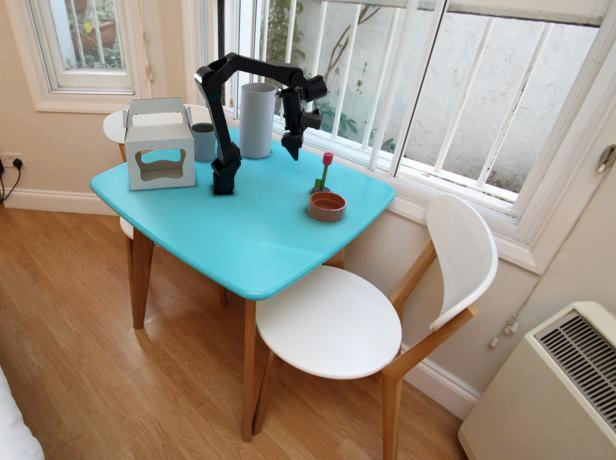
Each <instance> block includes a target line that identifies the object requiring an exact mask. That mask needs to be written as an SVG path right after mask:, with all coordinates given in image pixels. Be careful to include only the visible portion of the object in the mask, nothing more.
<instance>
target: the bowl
mask: <svg viewBox="0 0 616 460" xmlns="http://www.w3.org/2000/svg"><path fill="white" fill-rule="evenodd" d="M347 207H348V200H346V198H345V197H344V196H342V195H341V194H338V193H335V192H332V191H330V192H326V191H324V192H316V193H312V194H310V196H309V198H308V203H307V209H306V211H307V214H308V215H309V216H310V217H311V218H313V219H315V220H316V221H320V222H324V223H336V222H339V221H341V220H342V219H343V218H344V217H345V214H346V210H347Z"/></svg>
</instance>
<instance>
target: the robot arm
mask: <svg viewBox="0 0 616 460" xmlns="http://www.w3.org/2000/svg"><path fill="white" fill-rule="evenodd" d="M236 72H243V73H247V74H252V75H256V76H259V77H262V78H263V77H264V78H267V79H270V80H274V81H275V82H278V83H279V84H280V85H283V86H285V88H283V87H280V86H279V87H278V89H277V90H276V93H275V96H276V98H278V99H281V102H282V110H283V113H282V119H284V124H285V125H284V132H285V131H286V132H285V133H283V134H282V136H281V139H280V144H281V147H283V148H284V149H285V150H286V151H287V153H288V154H289V155H290V156H291V158H292V159H293V161H295V162H297V161H299V158H300V150H301V149H302V148H303V144H304V139H305V138H304V135H305V134H304V133H305V131H306V130H307V129H308V128H310V129H314V130H316V131H319V130H321V127H322V124H323V120H324V115H323V113H322V112H321V109H320V108H318V107H314V108H313V110H312V111H306V107H305V106H303V101H304V102H305V103H307V104H308V103H311V102H314V101H317V100H320V99H323V98H325V97H327V95H328V87H327V83H326V81H325V79H324V76H323V75H321V74H317V75H314V76H312V77H309V78H306V77H305V75H304V74H305V73H304V70H303V69H302V68H301V67H299V66H296V65H294V64H293V63H290V62H269V61H264V60H261V59H257V58H253V57H250V56H245V55H242V54H238V53H237V52H234V51H231V52H228V53H227V54H225V55H224V56H222V57H220V58H218V59H216V60H213V61H212V62H210V63H208V64H207V65H203V66H201V67H199V68H198V69H197V70H196V72H195V74H194V81H195V84H196V86H197V88H198V90H199V92H200V94H201V95H202V97H203V99H204V101H205V103H206V107H207V110H208V114H209V118H210V121H211V124H212V125H213V129H214V132H215V136H216V143H217V145H216V157H214V159H213V160H212V161H211V163H210V168H211V169H212V184H211V188H212V193H213V196H229V195H234V190H235V177H236V175H237V172H238V170H239V169H240V167H241V166H242V161H243V160H244V159H243V158H242V155H240V148H239V147H238V145H237V143H235V142H234V141H232V139H231V138H232V137H231V135H230V131H229V127H228V121H227V119H226V118H227V117H226V115H225V110H224V107H223V103H222V97H223V96H222V95H223V84H225V83H227V82H228V81H229V80H230V79H231V78H232V76H233V75H234V74H235V73H236Z"/></svg>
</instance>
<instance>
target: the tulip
mask: <svg viewBox="0 0 616 460" xmlns="http://www.w3.org/2000/svg"><path fill="white" fill-rule="evenodd" d="M333 160H334V153H333V152H329V151H327V152H323V157H322V161H321V162H322V164H323V170H322V175H321V178H315V181H314V185H313V188H312V189H311V193H312V194H313V193H316V192H324V191H326V192H331V189H330V188H329V187H327V186H325V185H326V180H327V174H328V171H329V166H331V165H332V163H333Z"/></svg>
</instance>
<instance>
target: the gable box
mask: <svg viewBox="0 0 616 460" xmlns="http://www.w3.org/2000/svg"><path fill="white" fill-rule="evenodd" d="M170 113H171V114H172V113H180V114H181V116H182V122H175V123H173V122H172V123H155V124H140V125H138V124H137V125H134V121H133V117H134V116H138V115H154V114H155V115H156V114H170ZM193 124H194V123H193V115H192V107H191V106H187V107H186V106H185V105H184V101H183V98H182V97H180V96H178V97H177V96H176V97H157V98H141V99H140V98H139V99H130V101H129V108H128V109H127V111H126V110H122V127H123V128H124V129H125V131H124V140H123V144H124V150H125V151H124V152H125V159H126V165H127V171H128V179H129V187H130V191H140V190H141V191H142V190H156V189H157V190H158V189H169V188H184V187H195V186H196V167H195V163H196V162H195V161H196V160H194V136H193V132H192V128H191V126H192V125H193ZM175 149H176V150H178V149H179V153H180V159H179V160H177V161H174V160H167V159H159V160H155V161H151V162H143V161H142V151H160V152H161V151H163V152H164V151H171V150H175Z"/></svg>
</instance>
